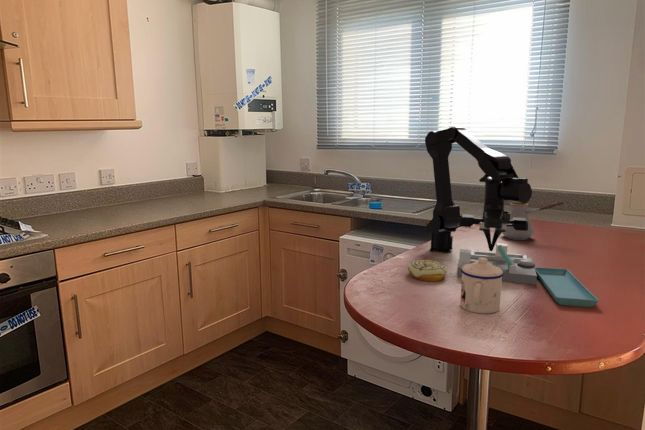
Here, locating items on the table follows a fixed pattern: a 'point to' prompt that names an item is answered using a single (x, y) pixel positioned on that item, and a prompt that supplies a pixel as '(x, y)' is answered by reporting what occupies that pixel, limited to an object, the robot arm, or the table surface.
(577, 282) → the rectangular tray
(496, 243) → the cream slider
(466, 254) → the grey slider
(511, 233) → the coffee pot
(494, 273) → the teacup with lid
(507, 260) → the paddle lever
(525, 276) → the panel
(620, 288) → the table surface
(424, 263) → the decorated donut
